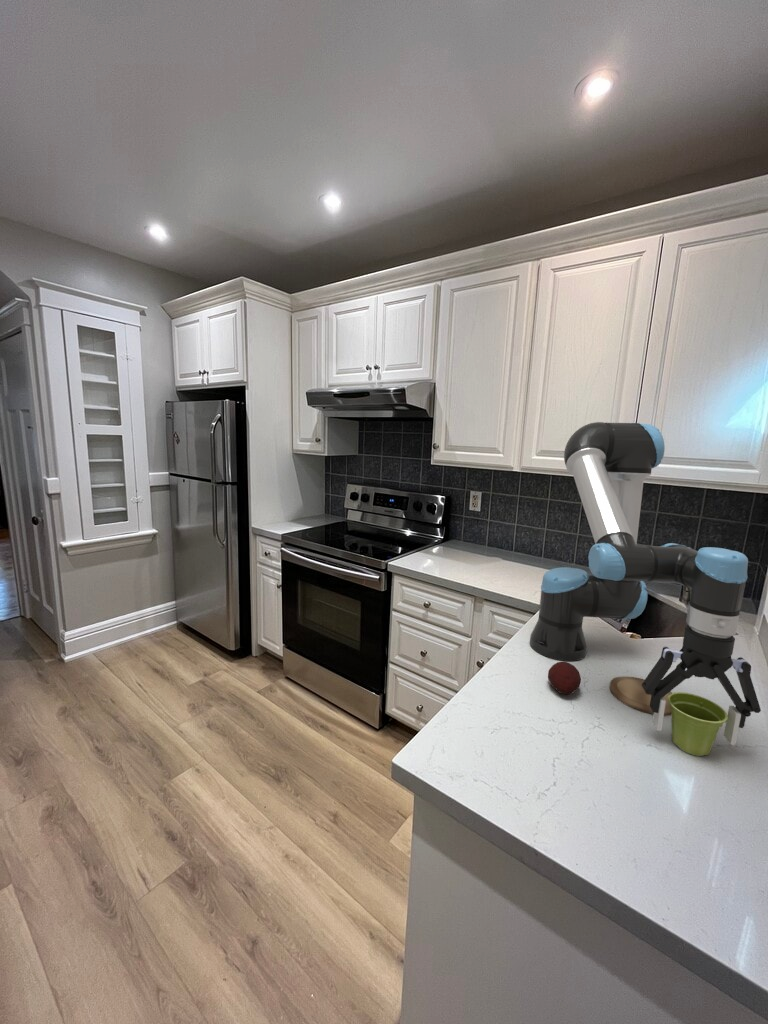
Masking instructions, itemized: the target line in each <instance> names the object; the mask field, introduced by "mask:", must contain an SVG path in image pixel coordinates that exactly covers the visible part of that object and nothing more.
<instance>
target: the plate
mask: <svg viewBox="0 0 768 1024" xmlns="http://www.w3.org/2000/svg"><path fill="white" fill-rule="evenodd" d="M645 679H646V678H640V677H637V676H636V677H635V676H629V675H628V676H625V675H624V676H622V675H621V676H616V677H614V678H612V679H611V680H610V683H609V691H610V693H611V694H612V696H613V697H614V698H615V699H617V701H619V702H621V703H622V704H623V705H625V706H628V708H629V707H630V708H632V709H633V710H636V711H638V712H643V713H644V714H649V715H654V712H652V710H651V708H650V700H651V695H648V694H646V692H645V691H644V689H643V687H642V683H643V682H644V680H645ZM672 693H673V692H672V691H670V692H669V693H668V694H666V695H665V696H664V697H663V698H664V699H665V701H666V704H665V710H664V716H672V714H671V708H670V704H669V702H668V696H669V695H670V694H672Z"/></svg>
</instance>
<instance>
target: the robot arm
mask: <svg viewBox="0 0 768 1024" xmlns="http://www.w3.org/2000/svg"><path fill="white" fill-rule="evenodd" d="M563 453H564V454H563V459H564V464H565V467H566V470H567V472H568V473H569V474H570V475H572V476H573V478H574V482H575V485H576V488H577V492H578V494H579V498H580V500H581V504H582V506H583V510H584V513H585V515H586V518H587V522H588V525H589V528H590V531H591V535H592V537H593V541H594V543H595V544H593V545H592V546H591V547H590V549H589V552H588V568H589V570H590V573H591V575H589V574H588V572H587V571H586V570H584V569H582V568H579V567H578V568H577V567H575V568H574V567H567V566H565V567H555V568H551V569H549V570H547V571H545V573H544V574H543V577H542V581H541V585H540V590H541V591H540V599H539V600H540V601H539V611H538V619H537V622H536V624H535V625H534V627H533V630H532V631H531V633H530V638H529V645H530V648H532V649H533V651H535V652H537V653H538V654H539V655H542V656H544V657H547V658H548V659H549V658H550V659H553V660H558V661H562V662H575V661H576V662H577V661H580V660H583V659H584V658H585V657H586V655H587V642H586V638H585V634H584V629H583V622H584V621H583V620H584V618H585V617H586V618H598V619H600V618H603V619H614V620H625V619H626V620H631V619H632V620H633V619H636V618H638V617H639V616H640V615H642V613H643V612H644V610H645V609H646V605H647V602H648V591H647V585H646V583H645V582H648V583H662V584H663V583H664V584H677V585H681V586H683V587H685V588H687V589H688V590H690V596H689V597H690V598H689V603H688V609H687V612H686V613H687V615H686V620H685V622H686V624H687V625H686V626H685V627H684V632H683V633H684V634H683V640H682V647H681V649H680V650H672V649H671V648H669V647H668V646H663V647H662V649H661V654H660V658H659V659H658V660H657V662H656V663H655V665H654V666H653V667H652V669H651V670H650V671H649V672H648V674H647V676H646V677H645V678H644V679H645V680H644V682H643V683H642V687H643V689H644V691H645V692H646V694H648V695H651V700H650V708H651V710H652V712H654V714H652V715H653V716H652V717H653V718H652V723H653V726H654V727H655V729H656V731H657V732H662V727H663V723H664V722H663V721H664V717H665V715H664V710H665V704H666V701H665V699H664V698H663V697H664V696H665V695H666V694H668V693H669V692H672V691H673V690H674V689H675V688H676V687H678V686H680V684H681V683H682V682H684V681H685V680H689V679H690V678H692V677H693V676H694V677H695V678H706V679H709V680H715V679H717V680H718V682H719V683H720V685H721V686H722V688H723V689H724V690H725V692H726V693H727V695H728V696H729V698H730V700H731V702H732V703H733V704H734V705H730V704H729V706H728V709H727V715H728V719H727V721H726V722H725V726H724V731H723V736H724V738H725V739H726V740H727V742H728V743H729V745H730V746H731V745H732V746H736V743H737V739H738V738H737V737H738V735H739V729H744V727H745V724H746V719H747V717H751V715H752V713H755V714H759V713H760V712H762V710H761V705H760V702H759V700H758V697H757V692H756V690H755V687H754V683H753V680H752V677H751V671H752V665H751V664H750V663H749V662H748V661H747V660H746V659H744V658H743V657H741V656H740V657H738V658H736V659H735V658H732V655H733V654H734V646H735V642H736V638H735V637H734V636H736V634H737V629H738V624H739V619H740V618H739V617H740V611H741V607H742V603H743V598H744V594H745V593H744V592H745V587H746V582H747V580H748V578H749V577H748V566H749V565H748V564H749V559H748V557H747V556H746V555H745V553H742V552H740V551H736V550H731V549H727V548H722V547H711V546H709V547H708V546H707V547H701V548H699V549H698V550H695V549H693V548H692V547H688V546H687V545H684V544H678V543H674V542H673V543H672V542H670V543H666V544H663V545H660V546H659V545H658V546H657V545H656V546H654V545H641V544H638V543H637V542H638V534H639V526H640V517H641V516H640V515H641V509H642V507H641V506H642V499H643V489H644V481H645V480H646V479H647V478H648V477H650V476H651V475H652V470H653V469H654V468H656V467H659V465H661V463H662V460H663V458H664V457H665V456H664V455H665V439H664V436H663V434H662V432H661V431H660V429H659V428H657V427H656V426H655V425H653V424H650V423H649V424H648V423H641V422H603V421H596V422H590V423H588V424H585V425H582V426H581V427H580V428H578V429H577V430H576V431H575V432H574V433H572V434H571V436H570V438H569V439H568V440H567V441H566V444H565V448H564V452H563ZM677 659H680V660H681V662H679V663H678V664H677V665H676V667H675V668H674V669H673V670H672V671H671V672H669V673H668V671H669V670H670V668H671V667H672V665H673V663H676V662H677ZM732 667H733V669H734V670H735V672H736V675H737V678H738V682H739V684H740V688H741V691H742V694H743V696H744V700H745V701H743V700H742V698H741V697H740V695H739V694H738V691H737V690H736V689H735V687H734V685H733V684H732V682H731V681H730V679H729V678H728V676H727V675H726V673H725V672H727V671H728V670H729V669H731V668H732ZM667 673H668V674H667ZM666 674H667V675H666Z"/></svg>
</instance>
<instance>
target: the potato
mask: <svg viewBox="0 0 768 1024" xmlns="http://www.w3.org/2000/svg"><path fill="white" fill-rule="evenodd" d="M547 678H548V681H549V683H550V684H551V687H553V689H555V690H556V691H557V692H559V693H560V694H563V695H571V694H573V693H574V692H576V691H577V690H579V687H580V686H581V683H582V681H581V680H582V679H581V673H580V671H579V670H578V669H577V667H576V666H575V665H574V664H572V663H571V662H569V661H558V662H556V663H553V665H552V666H551V667H550V668H549V669H548V673H547Z"/></svg>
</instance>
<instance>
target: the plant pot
mask: <svg viewBox="0 0 768 1024" xmlns="http://www.w3.org/2000/svg"><path fill="white" fill-rule="evenodd" d="M668 702H669V704H670V708H671V740H672V743H673V744H674V745H677V747H678V748H679V749H680V750H681V751H684V752H685V753H687V754H690V755H692V756H697V757H702V756H708V755H710V752H711V750H712V748H713V745H714V742H715V740H716V737H717V735H718V733H719V730H720V728H721V727H722V726H723V725H724V723H725V724H726V721H727V719H728V712H726V711H725V710H724V709H723V708H722V706H720V705H718V704H717V703H715V702H713V701H712V700H710V699H708V698H705V697H703V696H700V695H696V694H693V693H688V692H679V691H678V692H672V694H670V695H669V696H668Z"/></svg>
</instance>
